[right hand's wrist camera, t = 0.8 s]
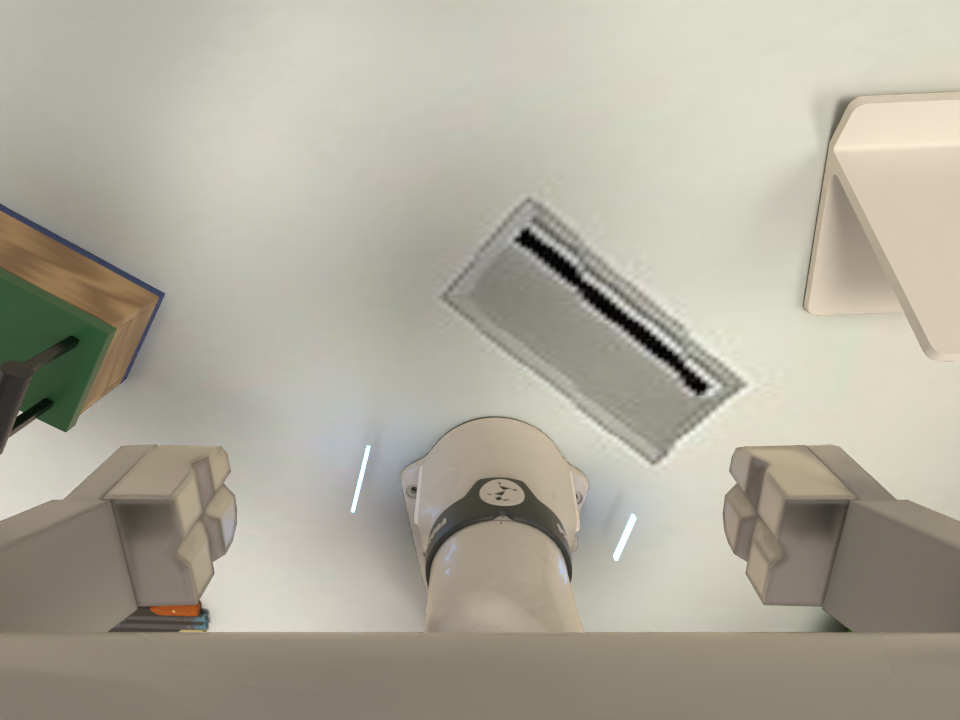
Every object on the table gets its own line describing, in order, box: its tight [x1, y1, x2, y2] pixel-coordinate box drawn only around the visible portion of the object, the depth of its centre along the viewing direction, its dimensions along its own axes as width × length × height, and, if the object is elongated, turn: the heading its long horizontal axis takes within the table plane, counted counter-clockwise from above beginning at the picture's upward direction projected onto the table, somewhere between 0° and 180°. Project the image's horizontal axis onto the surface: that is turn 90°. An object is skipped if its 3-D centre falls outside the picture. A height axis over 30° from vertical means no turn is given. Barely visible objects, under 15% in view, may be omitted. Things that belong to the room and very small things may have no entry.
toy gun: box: [108, 603, 208, 632], centre depth 68 cm, size 3×19×10 cm
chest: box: [0, 204, 165, 414], centre depth 52 cm, size 17×10×9 cm, turn 58°
